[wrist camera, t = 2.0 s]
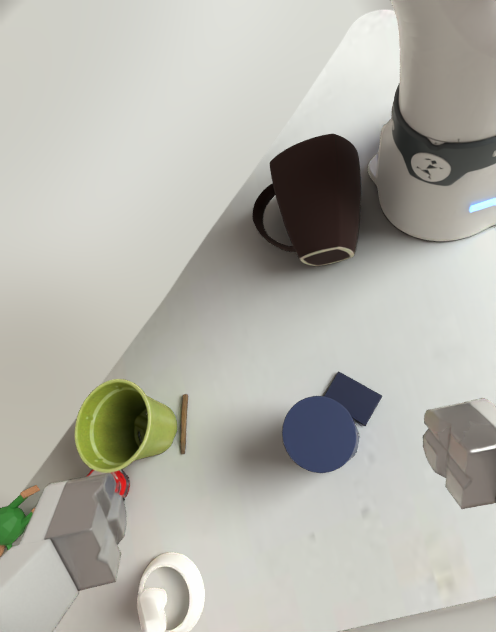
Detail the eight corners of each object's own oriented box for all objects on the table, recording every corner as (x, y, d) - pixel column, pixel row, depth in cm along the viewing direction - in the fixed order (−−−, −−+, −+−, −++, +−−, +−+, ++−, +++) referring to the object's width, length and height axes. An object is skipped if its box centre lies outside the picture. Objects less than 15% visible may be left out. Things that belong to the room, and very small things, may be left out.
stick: (185, 454, 46) (183, 454, 46) (181, 454, 46) (178, 454, 46) (188, 394, 48) (186, 394, 48) (183, 395, 49) (181, 394, 48)
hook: (239, 644, 34) (163, 704, 31) (206, 604, 44) (147, 645, 41) (205, 557, 35) (130, 605, 32) (181, 538, 46) (122, 573, 43)
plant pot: (201, 448, 45) (161, 446, 38) (135, 484, 47) (84, 488, 39) (176, 378, 50) (135, 363, 42) (116, 413, 51) (66, 404, 43)
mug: (355, 234, 38) (338, 124, 40) (239, 268, 46) (230, 173, 48) (382, 255, 46) (367, 163, 48) (280, 281, 54) (271, 200, 56)
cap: (341, 481, 40) (332, 489, 32) (289, 445, 43) (268, 444, 35) (387, 399, 41) (390, 386, 33) (334, 369, 44) (324, 350, 36)
